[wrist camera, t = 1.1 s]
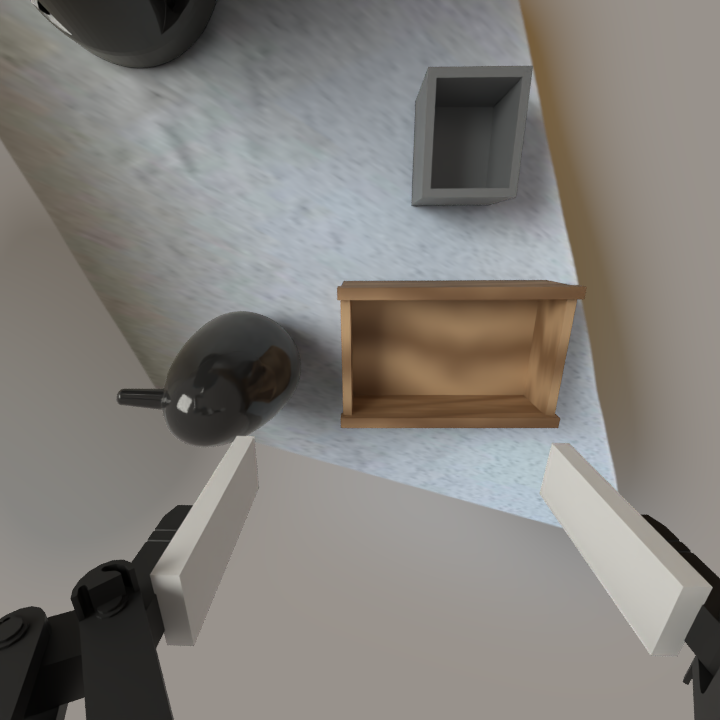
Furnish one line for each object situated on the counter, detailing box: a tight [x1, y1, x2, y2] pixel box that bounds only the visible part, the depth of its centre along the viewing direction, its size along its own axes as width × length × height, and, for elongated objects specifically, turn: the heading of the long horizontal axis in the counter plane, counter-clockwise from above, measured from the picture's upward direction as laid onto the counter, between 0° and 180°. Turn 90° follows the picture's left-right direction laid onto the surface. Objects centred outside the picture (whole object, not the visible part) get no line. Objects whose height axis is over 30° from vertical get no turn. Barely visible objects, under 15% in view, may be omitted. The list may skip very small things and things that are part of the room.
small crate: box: [411, 66, 533, 206], centre depth 27 cm, size 8×7×6 cm
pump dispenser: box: [117, 311, 301, 447], centre depth 29 cm, size 10×10×15 cm
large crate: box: [337, 280, 587, 428], centre depth 33 cm, size 13×20×6 cm, turn 90°
